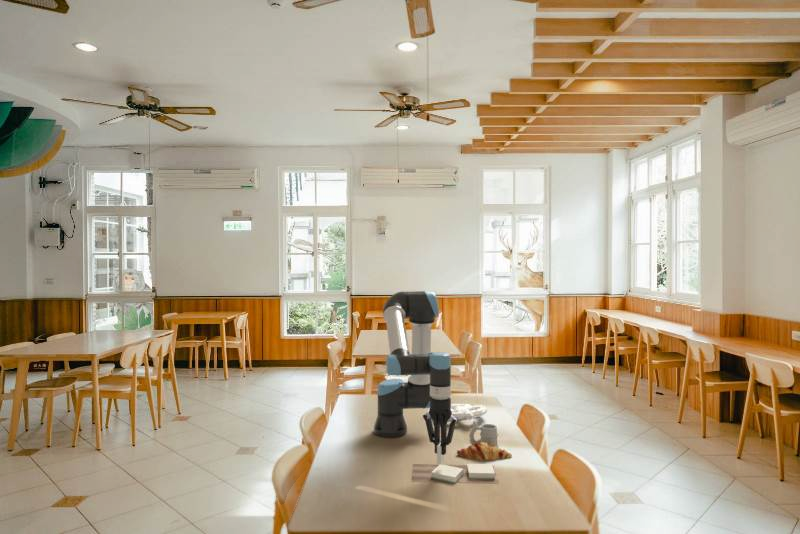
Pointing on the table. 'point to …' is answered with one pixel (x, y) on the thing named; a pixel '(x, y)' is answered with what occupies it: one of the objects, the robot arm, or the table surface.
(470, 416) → the white flat coiled piece
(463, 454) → the croissant
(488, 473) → the tile
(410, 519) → the table surface
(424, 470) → the board
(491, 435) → the mug
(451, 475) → the tile
